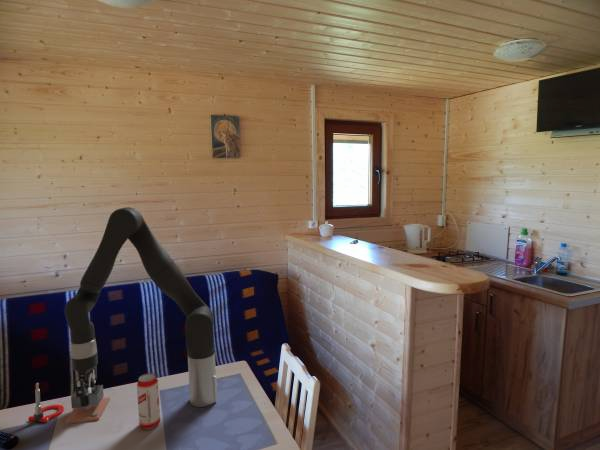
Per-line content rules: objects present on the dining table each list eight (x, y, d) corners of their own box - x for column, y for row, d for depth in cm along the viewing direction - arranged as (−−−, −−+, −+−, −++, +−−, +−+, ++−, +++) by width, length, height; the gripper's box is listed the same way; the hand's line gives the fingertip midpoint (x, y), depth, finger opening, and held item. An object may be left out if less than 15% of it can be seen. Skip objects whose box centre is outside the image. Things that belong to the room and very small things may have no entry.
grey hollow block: (103, 395, 135) (102, 384, 134) (98, 405, 129) (97, 394, 128) (78, 398, 133) (77, 387, 133) (71, 408, 127) (70, 397, 127)
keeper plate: (109, 399, 138) (108, 378, 137) (99, 420, 126) (97, 397, 125) (79, 403, 136) (77, 381, 135) (65, 423, 125) (63, 400, 124)
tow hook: (48, 406, 135) (25, 421, 126) (46, 370, 134) (23, 383, 125) (69, 408, 134) (48, 424, 125) (68, 372, 133) (46, 385, 124)
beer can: (155, 416, 128) (152, 370, 126) (163, 424, 124) (161, 377, 122) (136, 424, 124) (133, 377, 122) (144, 433, 119) (141, 384, 117)
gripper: (88, 361, 123) (93, 411, 125) (103, 343, 137) (106, 388, 139) (63, 364, 121) (67, 414, 123) (80, 345, 135) (84, 390, 137)
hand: (88, 400), depth 131 cm, fingers closed on grey hollow block, 6 cm apart
